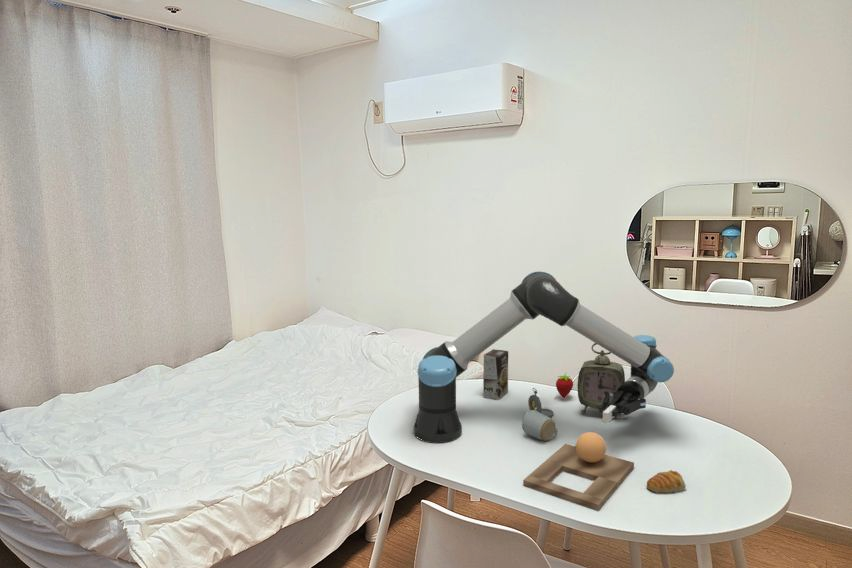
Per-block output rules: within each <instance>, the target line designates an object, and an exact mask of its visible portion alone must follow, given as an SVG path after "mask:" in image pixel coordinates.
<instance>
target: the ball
mask: <svg viewBox="0 0 852 568" xmlns="http://www.w3.org/2000/svg"><path fill="white" fill-rule="evenodd" d="M575 442H576V443H575V446H576V451H577V453H578V455H579V456H580V458H581V459H583V460H584V461H586V462H591V463H594V462H598V461H600V460H601V459H602V458H603V457H604V455H606V453H607V446H606V442H605V440H604V438H603V437H602V436H601V435H599V434H597V433H596V432H592V431H588V432H584V433H582V434H581V435H580V436H579V437H578V438H577V440H576V441H575Z"/></svg>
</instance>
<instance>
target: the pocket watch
mask: <svg viewBox="0 0 852 568" xmlns="http://www.w3.org/2000/svg"><path fill="white" fill-rule="evenodd" d="M532 391H533V394H532V395H530V396H529V397H528V400H527V401H528V408H529V411H530V410H536V411H538V412H540V413H541V414H543V415H545V416H548V417H549V418H552V417H553V416H554V411H553V410H552V409H549V408H543V407H542V406H543V405H542V402H541V400H540V397H539V396H538V395H537V394H538V391H537V389H536V388H532Z"/></svg>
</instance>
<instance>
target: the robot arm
mask: <svg viewBox="0 0 852 568" xmlns="http://www.w3.org/2000/svg"><path fill="white" fill-rule="evenodd" d="M539 316H542V317H544V318H546V319H548V320H550V321H552V322H553V323H555V324H557V325H559V326H560V327H566V326H567V327H568V328H570V329H572V330H573V331H575V332H576V333H578V334H580V335H582V336H583V337H584V338H587V339H588V340H590V341H591V342H593V343H596V344H597V345H598V346H599V347H602V348H603V349H604V350H606V351H608V352H611V354H613V355H614V356H616V357H618V358H619V359H621V360H623V361H624V362H626V363H627V364H629V365H630V377H628V379H627V380H625V382H624V383H623V384H622V385H621V386H620V387H619V388H618V390H617V391H616V392H613V394H611V393H608V392H607V391H606V392H604V400H603V412H602V422H603V423H609V422H610V421H611V420H612V419H613V418H615V417H617V416H618V415H619V416H621V414H623V416H628V415H630V414H633V413H634V412H637V411H639V410H642V409H645V408H646V407H647V404H646V403H647V399H646V397H648V395H649V394H651V392H652V393H653V391H654V390H655V389H656V387H657V385H658V383H665V382H668V381H669V380H671V378H672V377H673V375H674V373H675V367H674V365H673V363H672V362H671V360H670V359H669V358H668V357H666V356H664V355H663V354H662V353H661V352H660V351H659V350H658V349H657V339H656V338H655V337H654V336H651V335H647V334H638V335H635V336H632V335H631V334H629V333H627V332H626V331H624V330H623V329H621V328H619V327H617V326H616V325H614V324H613V323H611V322H609V320H606V319H605V318H603V317H602V316H600V315H598V314H597V313H595V312H594V311H592V310H590V309H588V308H587V307H585V306H584V305H582V304H581V303H580V299H579V298H577V297H575V296H574V295H572V294H571V293H570V292H568V290H566V289H565V288H564V287H563V286H562V285H561V283H560V282H559V281H558V280H556V278H555V277H554V276H553V275H551V273H548V272H546V271H542V270H541V271H540V270H538V271H533V272H530V273H529V274H527V275H526V276H525V277H524V278H523V280H522V281H521V283H520V284H518V285H517V286H516V287H514V289H512V290H511V291H510V295H509V298H508V299H507V300H506V301H504V302H503V303H502V304H500V305H499V306H497V307H496V308H495V309H493V310H492V311H491V312H489V313H488V314H487V315H485V317H483V318H482V319H480V320H479V321H478V322H476V323H475V324H474V325H473V326H471V327H470V328H469V329H468V330H466V331H465V332H463V333H462V334H461V335H460V336H458V337H457V338H455V340H454V339H453V341H448V340H445V341H444V342H443V343H442V344H439V346H435V347H433V348H431V349H429V350H428V351H427V352H426V353H425V354H424V356H423V357H422V359H421V361H419V363H418V366H417V367H418V369H417V377H418V412H417V415H416V416H415V417H416V418H415V420H414V424H413V435H414V434H415V435H414V436H415V437H416V438H417V437H418V438H420V439H422V440H421V441H423V440H424V442H426V441H428V442H427V443H433V442H437V444H440V443H442V444H443V443H449V442H452V441H455V440H458V439H459V438H460V437H461V436H462V433H463V431H462V430H463V428H462V427H463V426H462V423H461V420H460V416H459V414H458V412H457V411H458V410H457V377H459V376H460V375H462V374H463V373H464V372H466V371H467V370H468V367H469V365H468V364H469V363H471V361H472V360H474V359H475V358H476V357H478V356H479V355H481V353H483V352H484V351H486V350H487V349H488V348H490V347H491V346H492V345H493V344H495V343H496V342H497V341H499V340H501V339H502V338H503V337H505V336H506V335H507V334H508V333H510V332H511V331H512V330H514V329H515V328H516V327H517V326H519V325H520V324H521V323H523V322H524V321H526V320H532V321H533V320H535V319H536V318H537V317H539ZM612 398H613V400H612V401H611V399H612ZM609 401H611V402H610V403H609ZM418 438H417V439H418ZM420 439H419V440H420Z"/></svg>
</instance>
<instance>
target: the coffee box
mask: <svg viewBox="0 0 852 568" xmlns="http://www.w3.org/2000/svg"><path fill="white" fill-rule="evenodd" d="M482 379H483V381H482V383H483V384H482V385H483V389H482V391H483V393H482V396H483V398H488V399H493V400H501V398H502V397H504V396H505V395H507V394H508V393H509V350H504V349H503V350H502V349H494V348H493V349H491V350H490V351H488V352H486V353H485V354H483V378H482Z"/></svg>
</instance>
